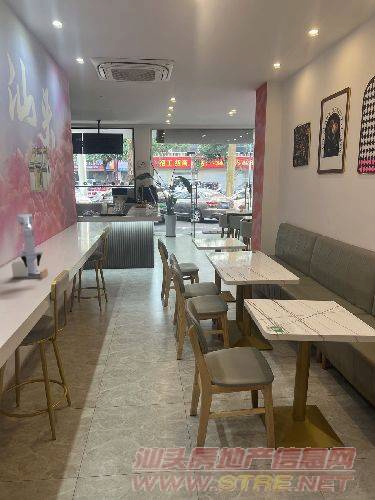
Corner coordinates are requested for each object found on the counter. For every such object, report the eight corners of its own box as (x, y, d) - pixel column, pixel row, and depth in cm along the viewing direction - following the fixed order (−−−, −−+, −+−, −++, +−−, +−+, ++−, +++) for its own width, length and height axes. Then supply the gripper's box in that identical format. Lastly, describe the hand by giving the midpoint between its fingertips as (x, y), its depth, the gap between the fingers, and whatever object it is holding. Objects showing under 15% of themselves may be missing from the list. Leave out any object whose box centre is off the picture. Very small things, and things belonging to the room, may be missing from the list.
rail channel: (18, 275, 284) (17, 269, 283) (47, 275, 284) (47, 268, 283) (12, 279, 274) (11, 272, 273) (42, 278, 274) (42, 271, 273)
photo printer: (12, 278, 276) (10, 261, 274) (14, 277, 281) (12, 260, 278) (27, 278, 277) (25, 261, 275) (29, 276, 282) (27, 259, 279)
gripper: (19, 247, 257) (22, 268, 258) (42, 245, 265) (44, 265, 266) (17, 247, 263) (20, 267, 264) (40, 245, 271) (42, 265, 272)
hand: (32, 266), depth 265 cm, fingers open, 7 cm apart
